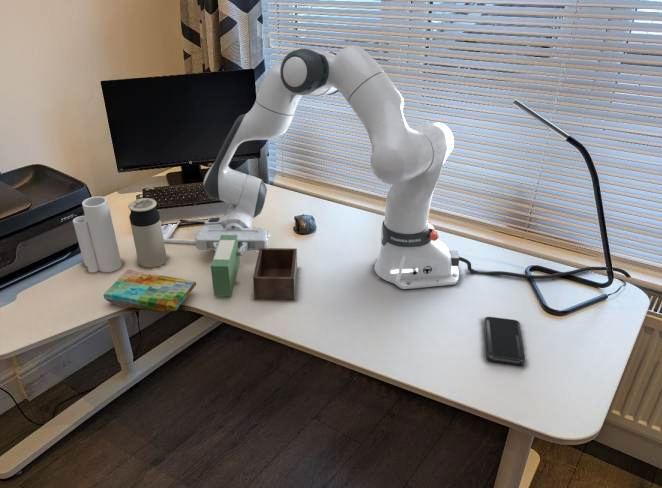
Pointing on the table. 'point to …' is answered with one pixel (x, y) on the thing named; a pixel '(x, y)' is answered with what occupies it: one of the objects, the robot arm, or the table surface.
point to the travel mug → (147, 232)
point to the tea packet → (225, 265)
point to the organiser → (275, 274)
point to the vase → (97, 236)
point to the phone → (503, 341)
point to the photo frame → (170, 228)
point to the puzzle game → (149, 291)
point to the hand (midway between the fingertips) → (228, 253)
